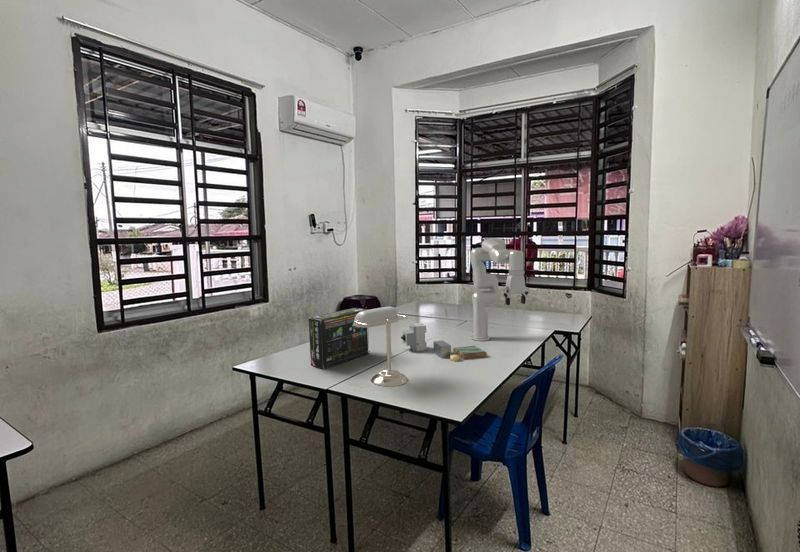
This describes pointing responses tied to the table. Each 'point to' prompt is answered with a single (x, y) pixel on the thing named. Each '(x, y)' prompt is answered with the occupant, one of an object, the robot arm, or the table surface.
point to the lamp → (387, 317)
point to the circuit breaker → (415, 337)
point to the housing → (442, 349)
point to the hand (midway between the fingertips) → (515, 304)
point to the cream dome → (454, 357)
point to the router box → (336, 338)
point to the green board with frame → (469, 352)
